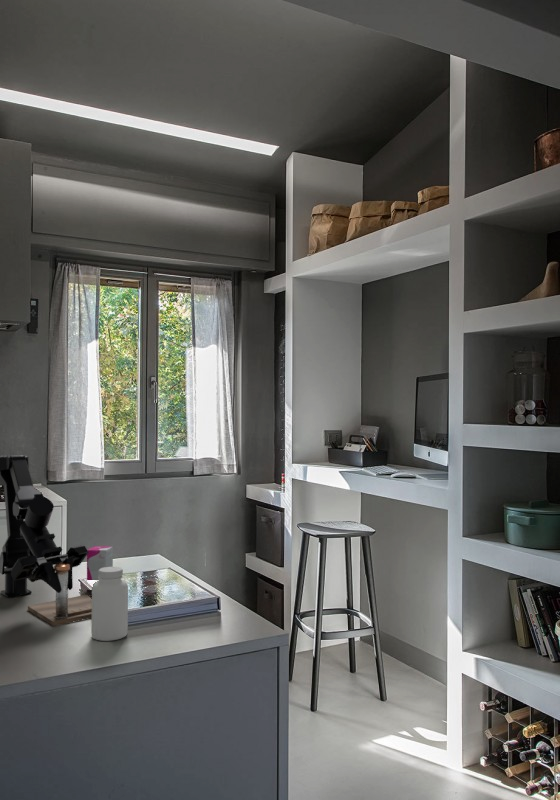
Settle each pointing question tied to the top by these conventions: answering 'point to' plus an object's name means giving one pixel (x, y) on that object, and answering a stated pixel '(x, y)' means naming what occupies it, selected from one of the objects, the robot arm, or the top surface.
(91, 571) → the supplement box
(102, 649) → the top surface
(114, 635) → the pill bottle
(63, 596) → the capped cylinder
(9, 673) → the top surface
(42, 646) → the top surface
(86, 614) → the brown wooden flat board
